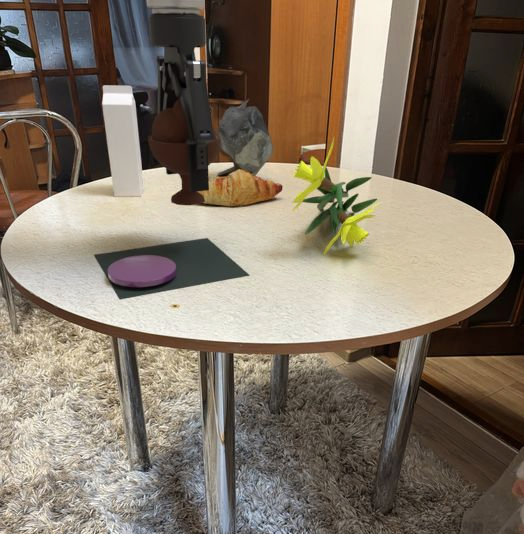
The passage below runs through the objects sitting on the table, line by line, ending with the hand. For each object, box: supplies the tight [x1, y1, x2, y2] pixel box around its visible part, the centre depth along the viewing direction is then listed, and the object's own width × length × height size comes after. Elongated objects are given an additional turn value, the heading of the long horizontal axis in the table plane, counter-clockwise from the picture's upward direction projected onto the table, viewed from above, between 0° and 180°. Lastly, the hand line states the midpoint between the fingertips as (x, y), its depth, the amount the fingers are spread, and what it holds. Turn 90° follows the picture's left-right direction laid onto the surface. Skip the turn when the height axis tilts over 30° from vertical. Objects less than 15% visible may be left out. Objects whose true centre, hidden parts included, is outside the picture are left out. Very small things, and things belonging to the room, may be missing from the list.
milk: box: [101, 84, 145, 198], centre depth 111 cm, size 6×6×22 cm
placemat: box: [93, 237, 251, 300], centre depth 81 cm, size 18×20×1 cm
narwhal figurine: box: [216, 98, 275, 177], centre depth 124 cm, size 14×15×18 cm
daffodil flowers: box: [289, 137, 381, 257], centre depth 91 cm, size 17×15×35 cm
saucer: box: [108, 255, 177, 287], centre depth 76 cm, size 10×10×2 cm
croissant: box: [198, 169, 283, 207], centre depth 112 cm, size 21×10×8 cm, turn 106°
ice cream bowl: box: [147, 99, 221, 206], centre depth 77 cm, size 11×11×15 cm
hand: (186, 181), depth 80 cm, fingers closed on ice cream bowl, 11 cm apart
